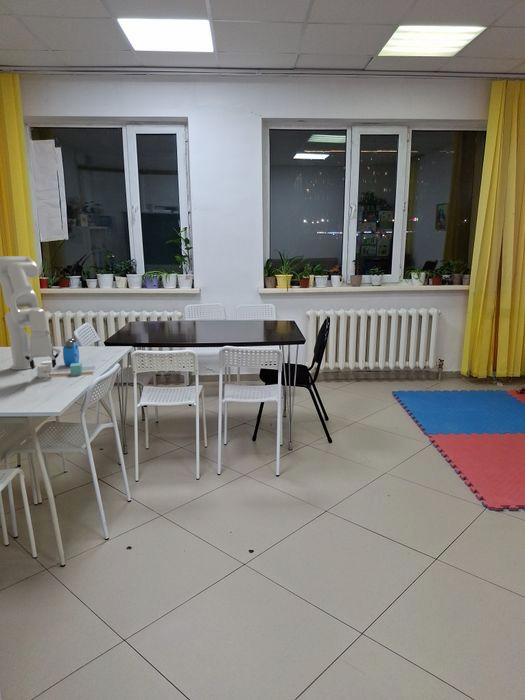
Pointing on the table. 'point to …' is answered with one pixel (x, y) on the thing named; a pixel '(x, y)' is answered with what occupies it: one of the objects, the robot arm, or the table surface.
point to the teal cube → (76, 369)
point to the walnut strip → (44, 373)
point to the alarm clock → (70, 352)
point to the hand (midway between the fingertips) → (43, 367)
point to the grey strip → (62, 368)
